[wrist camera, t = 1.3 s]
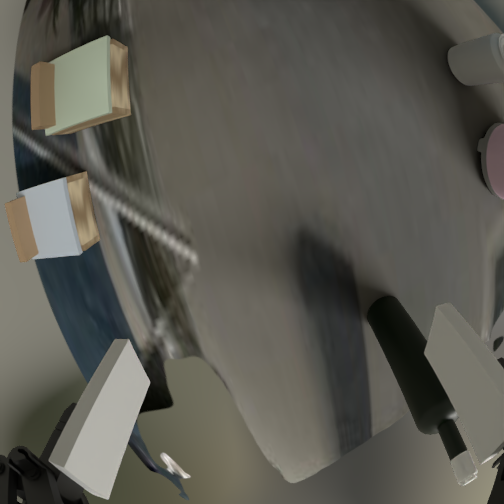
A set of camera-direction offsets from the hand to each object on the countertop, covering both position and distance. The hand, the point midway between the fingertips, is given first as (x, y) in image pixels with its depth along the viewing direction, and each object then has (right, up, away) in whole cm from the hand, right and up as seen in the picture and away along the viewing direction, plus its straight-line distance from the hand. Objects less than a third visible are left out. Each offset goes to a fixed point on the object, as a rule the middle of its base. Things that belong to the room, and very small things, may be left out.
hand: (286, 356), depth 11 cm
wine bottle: (+19, -5, +29) cm, 35 cm away
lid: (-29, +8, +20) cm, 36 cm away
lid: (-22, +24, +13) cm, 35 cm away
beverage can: (+29, +31, +14) cm, 45 cm away
